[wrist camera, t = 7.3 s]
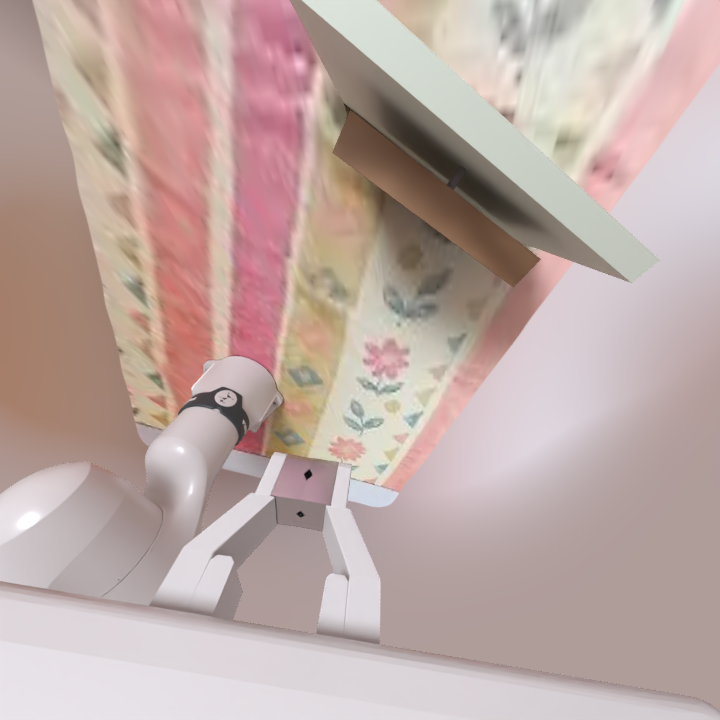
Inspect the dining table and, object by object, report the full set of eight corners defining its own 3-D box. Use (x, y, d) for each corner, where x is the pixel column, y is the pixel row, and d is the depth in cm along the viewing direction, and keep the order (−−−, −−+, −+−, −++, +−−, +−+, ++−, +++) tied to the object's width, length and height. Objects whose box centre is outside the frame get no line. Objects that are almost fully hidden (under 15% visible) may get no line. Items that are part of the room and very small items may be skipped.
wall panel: (501, 258, 40) (595, 312, 22) (333, 129, 34) (262, 50, 15) (546, 208, 36) (708, 220, 18) (364, 51, 30) (320, -180, 11)
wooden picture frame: (477, 260, 36) (513, 287, 25) (357, 170, 33) (332, 152, 21) (494, 240, 35) (540, 259, 23) (370, 144, 32) (350, 109, 20)
